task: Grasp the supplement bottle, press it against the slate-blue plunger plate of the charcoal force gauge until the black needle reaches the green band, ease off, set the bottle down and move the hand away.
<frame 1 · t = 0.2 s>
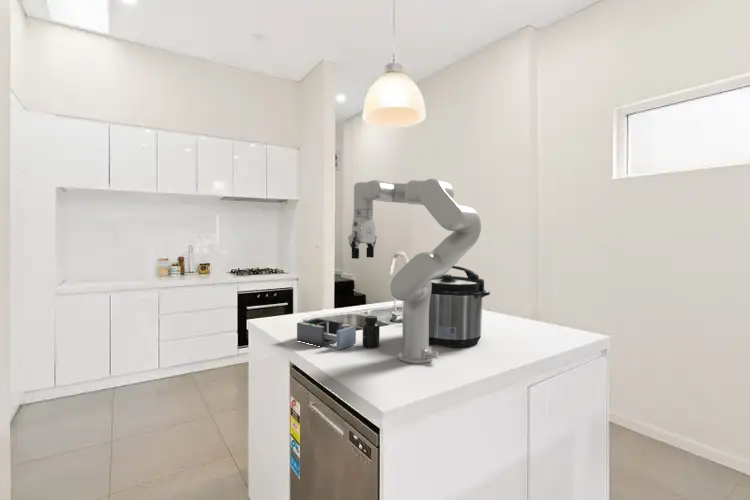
hand: (362, 257, 153), 36 cm above the countertop, tool pointing down, fingers open, 9 cm apart
supplement bottle: (371, 346, 156), on the countertop
gauge plunger: (333, 333, 156), point 5 cm above the countertop, slide at 0.0 cm
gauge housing: (331, 344, 159), on the countertop
pressure cooker: (448, 339, 167), on the countertop
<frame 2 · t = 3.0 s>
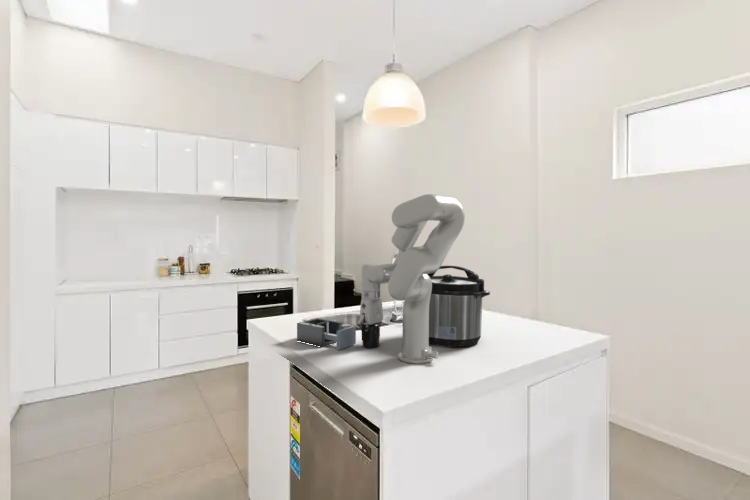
hand: (370, 338, 156), 3 cm above the countertop, tool pointing down, fingers closed on supplement bottle, 6 cm apart
supplement bottle: (370, 346, 156), on the countertop, touching gripper
everything else where it was.
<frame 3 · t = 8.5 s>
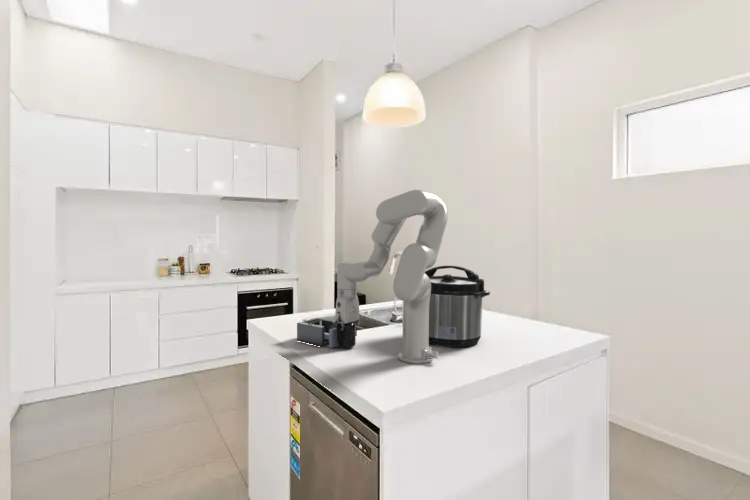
hand: (347, 337, 154), 4 cm above the countertop, tool pointing down, fingers closed on supplement bottle, 6 cm apart
supplement bottle: (347, 346, 154), point 1 cm above the countertop, touching gripper
gauge plunger: (326, 332, 159), point 5 cm above the countertop, slide at 3.9 cm
everything else where it was.
when the fingers open (4 cm above the countertop, at t = 10.3 s): supplement bottle stays where it is, on the countertop.
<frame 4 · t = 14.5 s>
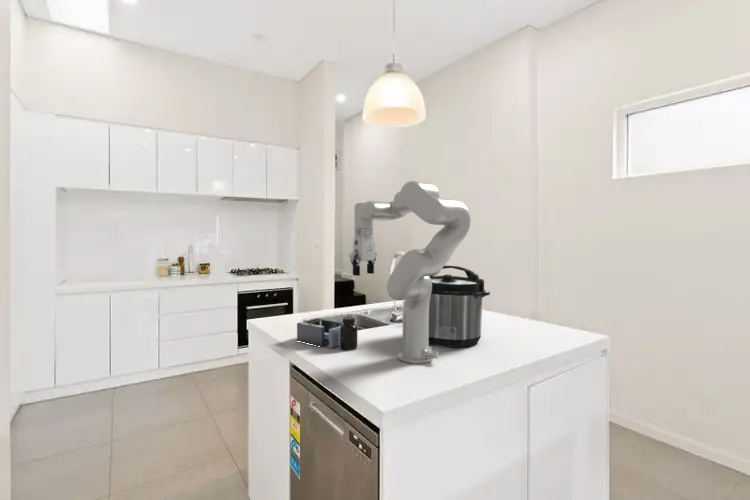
hand: (363, 274, 161), 28 cm above the countertop, tool pointing down, fingers open, 9 cm apart
supplement bottle: (348, 348, 153), on the countertop
everything else where it was.
at the end: gauge plunger slide at 4.0 cm; the gripper is holding nothing; supplement bottle tilted 0° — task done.
